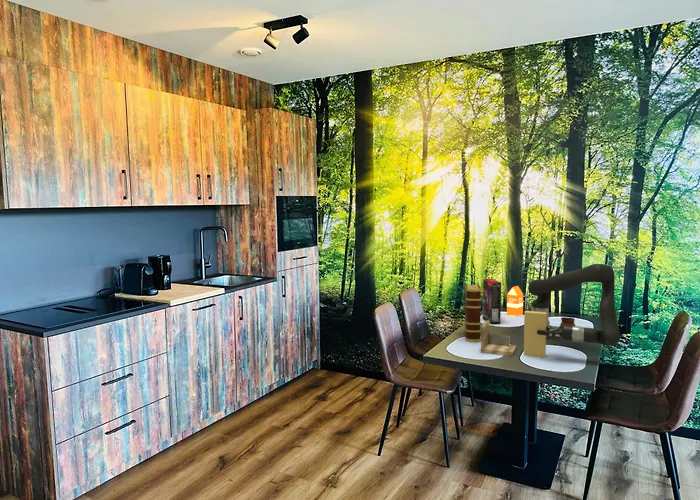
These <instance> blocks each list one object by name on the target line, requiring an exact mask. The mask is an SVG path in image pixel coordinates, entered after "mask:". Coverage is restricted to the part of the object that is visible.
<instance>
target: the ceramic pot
mask: <svg viewBox="0 0 700 500" xmlns="http://www.w3.org/2000/svg"><path fill="white" fill-rule="evenodd" d="M560 321H561V322H560V324H559V327H561V329H563V325H569V326H576V323H575V318H574V317H565V316H563V317H561V318H560Z"/></svg>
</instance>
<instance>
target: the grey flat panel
mask: <svg viewBox="0 0 700 500" xmlns="http://www.w3.org/2000/svg"><path fill="white" fill-rule="evenodd" d="M488 344H494V345H503V346H510V345H511V336H510V335H503V334H494V333H493V334H492V333H489V334H488Z"/></svg>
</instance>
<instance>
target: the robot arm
mask: <svg viewBox="0 0 700 500" xmlns="http://www.w3.org/2000/svg"><path fill="white" fill-rule="evenodd" d="M615 277H616V276H615V270H614V269H613V267H612V266H610V265H607V264H602V263H601V264H600V263H593V264H589V265H588V266H585V267H582V268H579V269H574V270H570V271H567V272H562V273H558V274H555V275H553V276H549V277H547V278H542V279H533V280H532V281H530V282H529V283H528V288H527V290H528V292H529V293H530V294H531V295H532V296H535V297H536V298H535V299H534V300H533V301H531V310H530V311H535V312H547V315H546V331H544V330H537V334H538V335H545V336H546V339H549V338H551V339H552V338H554V339H555V338H556V339H560V338H561V337H562V340H563V341H564V342H565V341H566V342H576V343H591V344H593V343H594V344H599V345H604V346H612V347H613V346H616V345H618V344H619V343H620V341H621V331H620V328H619V327H620V326H619V323H618V317H617V311H616V305H615V304H616V303H615V302H616V301H615V286H616V285H615V284H616V283H615V282H616V280H615ZM584 283H599V284H601V288H602V295H601V299H600V302H599V305H598V311H599V312H598V313H599V317H600V322H601V325H602V330H601V329H596V328H593V327H584V326H578V325H577V326H569V325H563V329H561V327H560V326H557V325H551V324H550V323H551V322H550V320H549V310H550V303H551V298H552V297H551V295H552V292H562V291H569V290H573V289H576V288H578V287H579V286H580V285H581V284H584Z"/></svg>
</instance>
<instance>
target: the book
mask: <svg viewBox="0 0 700 500" xmlns="http://www.w3.org/2000/svg"><path fill="white" fill-rule="evenodd" d="M523 314H524V317H523V318H524V321H523V322H524V324H523V325H524V327H523V333H524V334H523V356H530V357H531V356H532V357H540V358H546V356H545V355H546V354H547V353H546V352H547V351H546V350H547V338H546V336H545V335H538V334H537V330H544V331H546V315H547V312H535V311H531V310H525V311H524V312H523Z"/></svg>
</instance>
